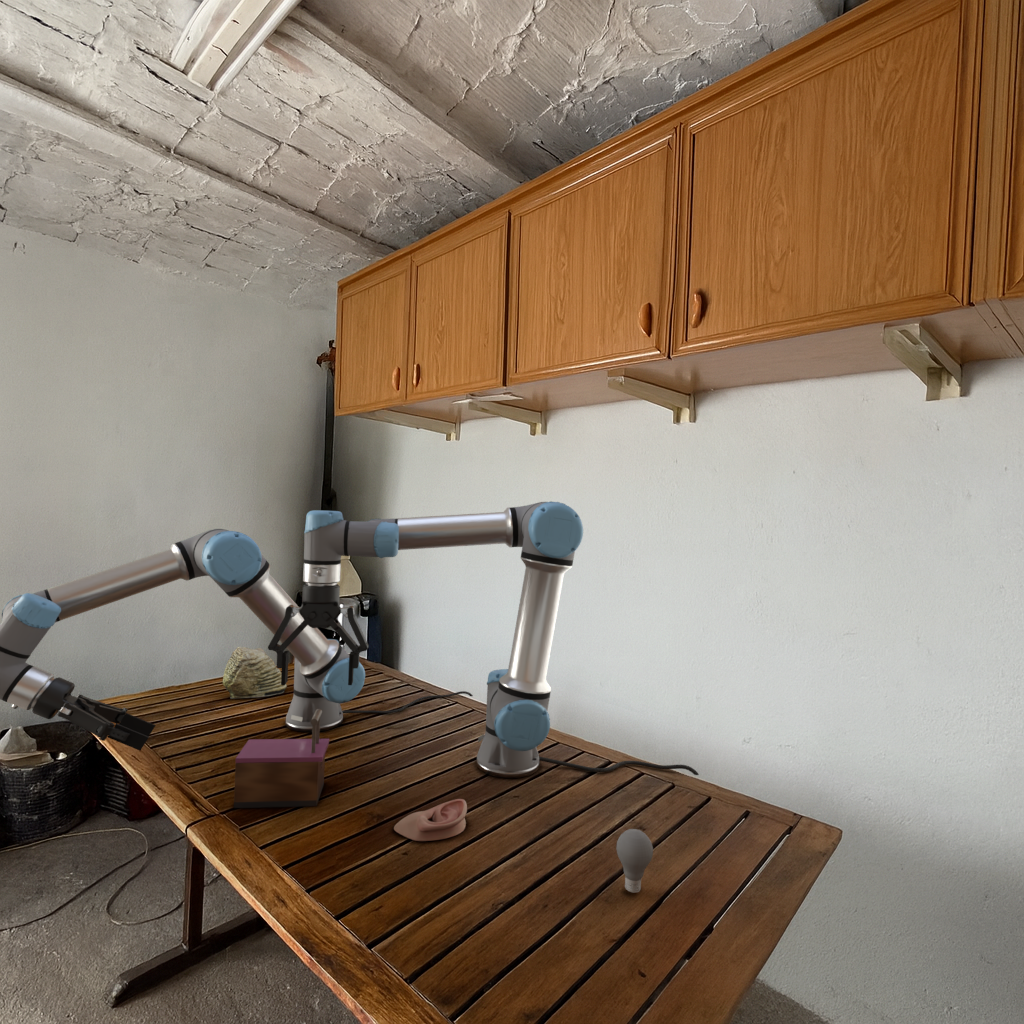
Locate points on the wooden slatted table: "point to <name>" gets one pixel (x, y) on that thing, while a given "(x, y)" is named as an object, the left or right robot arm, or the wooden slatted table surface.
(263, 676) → the fossil
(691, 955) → the wooden slatted table surface
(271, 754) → the lid
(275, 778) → the chest
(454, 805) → the anatomical model
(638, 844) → the light bulb
